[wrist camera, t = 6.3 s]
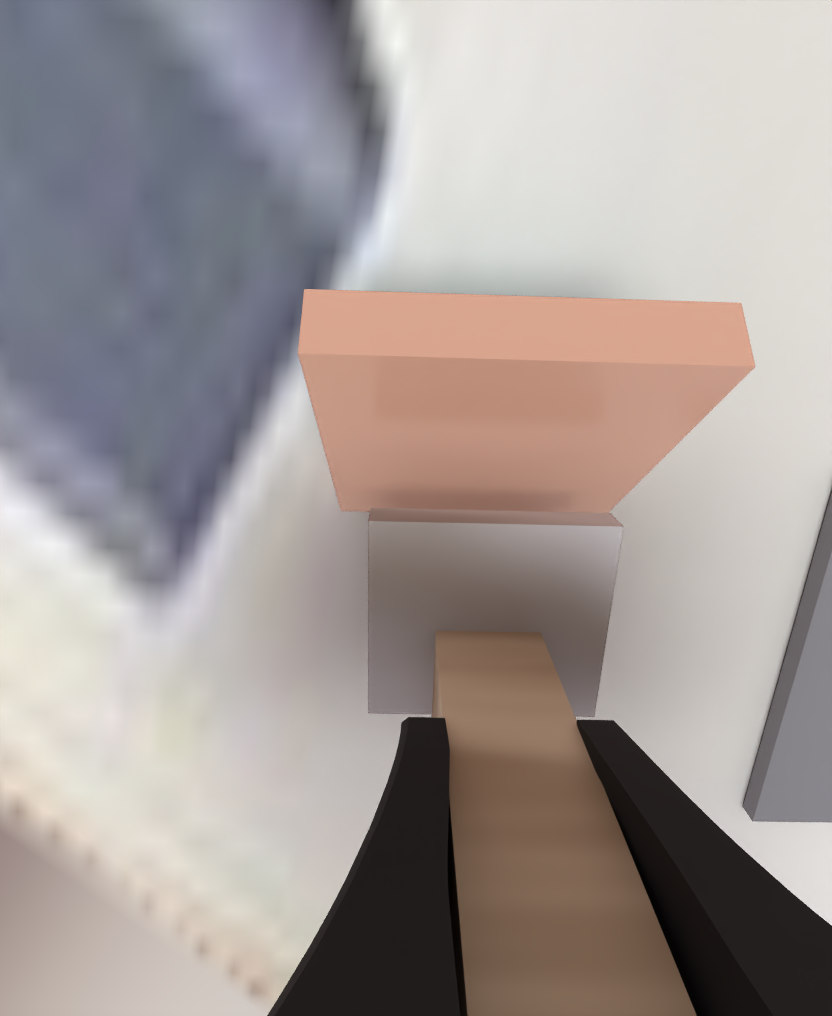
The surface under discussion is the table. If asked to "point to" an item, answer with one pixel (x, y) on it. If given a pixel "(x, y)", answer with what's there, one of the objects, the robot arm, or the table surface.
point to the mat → (801, 710)
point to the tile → (509, 394)
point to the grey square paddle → (519, 753)
